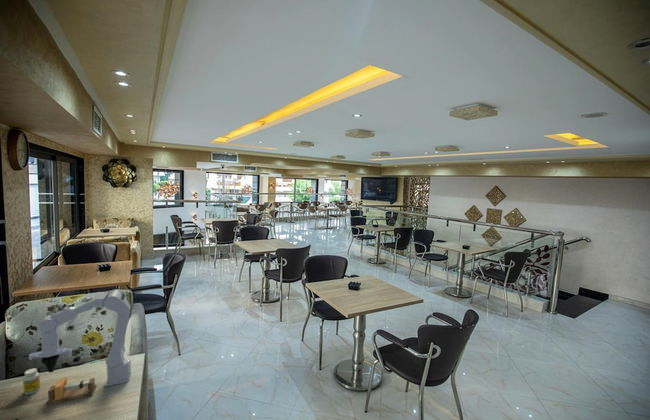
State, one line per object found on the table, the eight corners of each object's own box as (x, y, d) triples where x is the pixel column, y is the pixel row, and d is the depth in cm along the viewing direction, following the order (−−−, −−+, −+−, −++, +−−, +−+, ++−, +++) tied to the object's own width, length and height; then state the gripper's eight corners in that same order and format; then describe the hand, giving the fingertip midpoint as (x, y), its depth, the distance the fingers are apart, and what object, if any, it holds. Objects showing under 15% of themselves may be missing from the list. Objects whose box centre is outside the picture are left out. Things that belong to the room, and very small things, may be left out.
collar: (67, 389, 137) (66, 377, 136) (62, 398, 132) (61, 386, 131) (60, 391, 136) (59, 378, 135) (55, 400, 131) (54, 387, 130)
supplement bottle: (41, 385, 141) (40, 365, 140) (38, 392, 137) (37, 372, 135) (25, 389, 138) (24, 369, 137) (22, 396, 134) (21, 376, 132)
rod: (94, 383, 139) (94, 378, 139) (92, 386, 137) (92, 381, 137) (51, 391, 133) (50, 386, 133) (49, 394, 131) (48, 390, 131)
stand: (96, 385, 142) (96, 375, 141) (92, 396, 136) (91, 385, 135) (53, 394, 136) (52, 383, 135) (46, 405, 129) (45, 394, 129)
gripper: (74, 335, 141) (75, 362, 142) (33, 340, 135) (35, 368, 136) (68, 343, 134) (69, 371, 136) (25, 349, 128) (27, 378, 130)
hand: (51, 370), depth 136 cm, fingers closed
